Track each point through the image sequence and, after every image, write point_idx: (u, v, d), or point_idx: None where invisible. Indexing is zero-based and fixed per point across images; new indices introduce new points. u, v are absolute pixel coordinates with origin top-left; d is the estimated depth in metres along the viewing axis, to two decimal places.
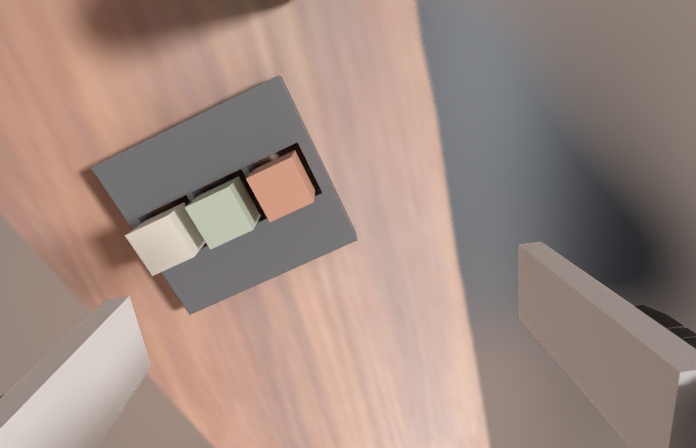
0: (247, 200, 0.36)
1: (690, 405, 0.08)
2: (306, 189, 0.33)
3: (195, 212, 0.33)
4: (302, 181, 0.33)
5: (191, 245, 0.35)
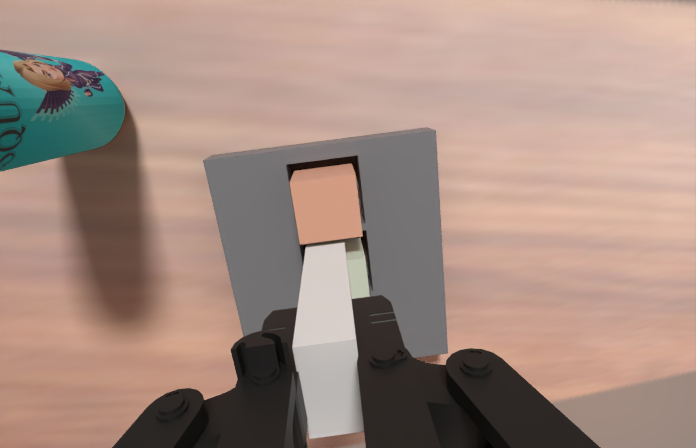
0: None
1: (340, 369, 0.10)
2: (336, 178, 0.25)
3: None
4: (324, 179, 0.25)
5: None
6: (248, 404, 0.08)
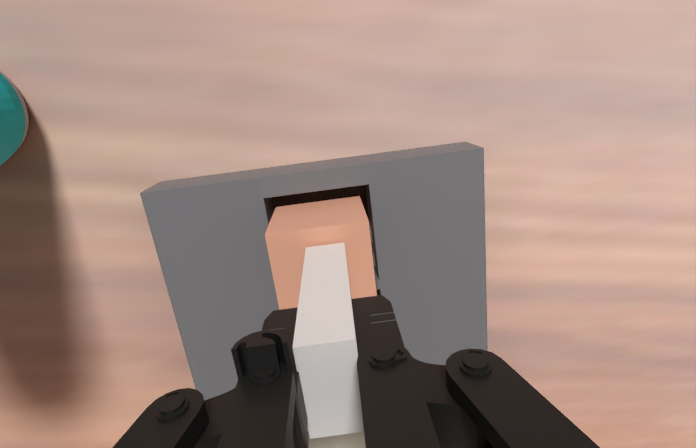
0: None
1: (340, 369, 0.10)
2: (338, 226, 0.16)
3: None
4: (319, 229, 0.16)
5: None
6: (248, 404, 0.08)
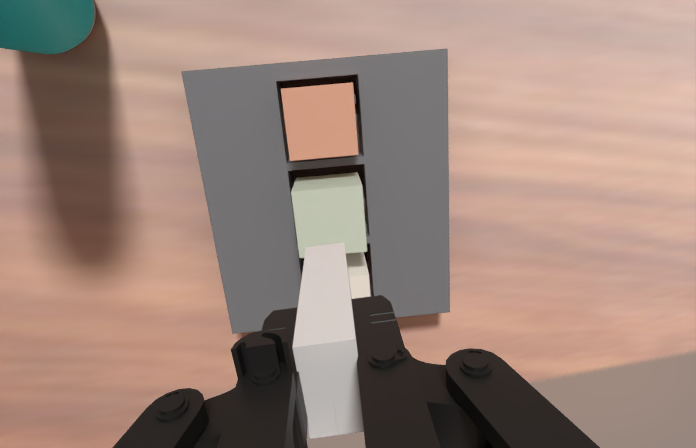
0: (327, 179, 0.26)
1: (340, 369, 0.10)
2: (331, 85, 0.23)
3: None
4: (318, 87, 0.23)
5: (353, 271, 0.25)
6: (248, 404, 0.08)
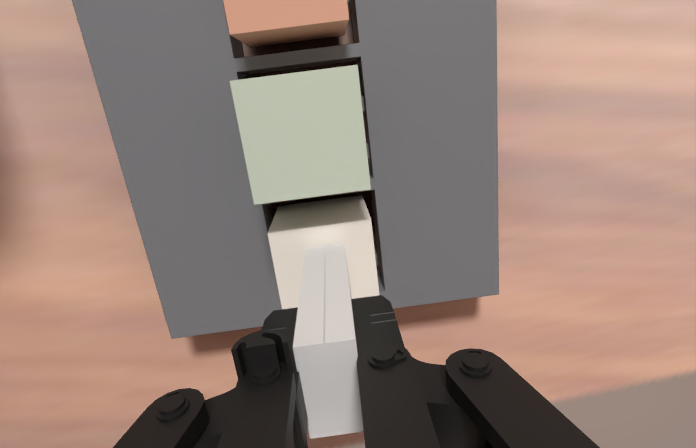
0: None
1: (340, 369, 0.10)
2: None
3: (272, 185, 0.14)
4: None
5: (347, 217, 0.16)
6: (248, 404, 0.08)
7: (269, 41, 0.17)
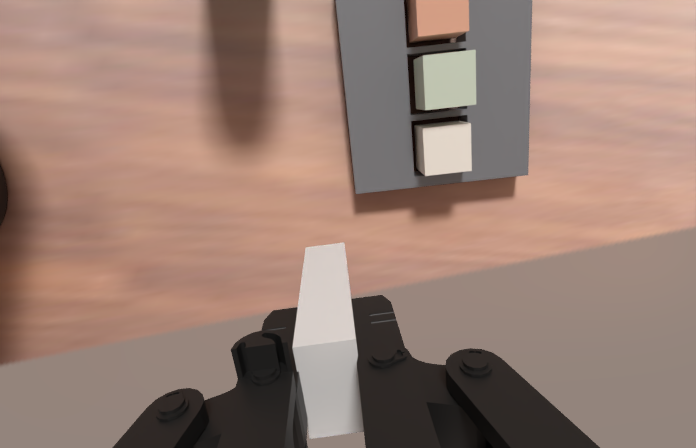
0: None
1: (340, 369, 0.10)
2: None
3: (434, 101, 0.32)
4: None
5: (458, 123, 0.35)
6: (248, 404, 0.08)
7: (422, 40, 0.35)
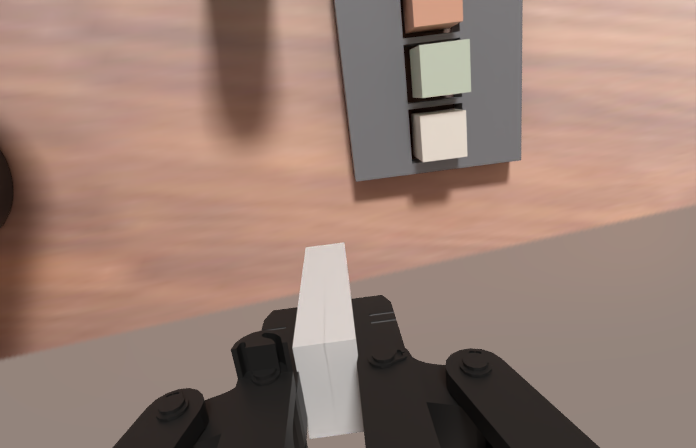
0: None
1: (340, 369, 0.10)
2: None
3: (430, 89, 0.33)
4: None
5: (453, 111, 0.36)
6: (248, 404, 0.08)
7: (417, 30, 0.36)
